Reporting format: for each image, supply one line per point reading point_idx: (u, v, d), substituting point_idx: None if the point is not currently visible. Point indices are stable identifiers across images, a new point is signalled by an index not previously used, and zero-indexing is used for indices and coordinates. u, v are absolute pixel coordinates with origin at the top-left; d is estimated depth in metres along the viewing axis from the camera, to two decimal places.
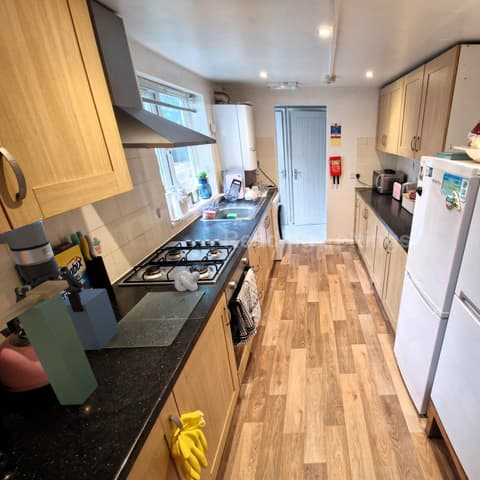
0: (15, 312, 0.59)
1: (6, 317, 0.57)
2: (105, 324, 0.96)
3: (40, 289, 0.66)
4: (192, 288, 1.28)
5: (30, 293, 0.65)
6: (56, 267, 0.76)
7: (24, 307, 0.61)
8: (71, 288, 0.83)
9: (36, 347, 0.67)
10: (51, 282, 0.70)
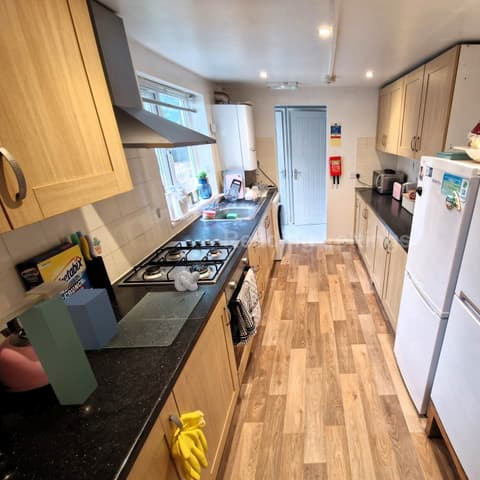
0: (15, 312, 0.59)
1: (6, 317, 0.57)
2: (105, 324, 0.96)
3: (40, 289, 0.66)
4: (192, 288, 1.28)
5: (30, 293, 0.65)
6: None
7: (24, 307, 0.61)
8: None
9: (36, 347, 0.67)
10: (51, 282, 0.70)
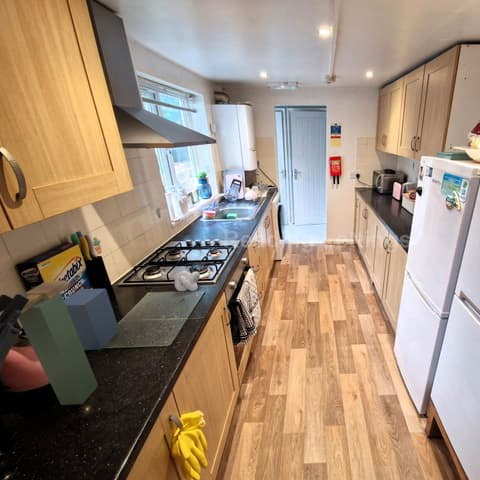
0: None
1: None
2: (105, 324, 0.96)
3: (40, 289, 0.66)
4: (192, 288, 1.28)
5: (30, 293, 0.65)
6: None
7: (24, 307, 0.61)
8: None
9: (36, 347, 0.67)
10: (51, 282, 0.70)
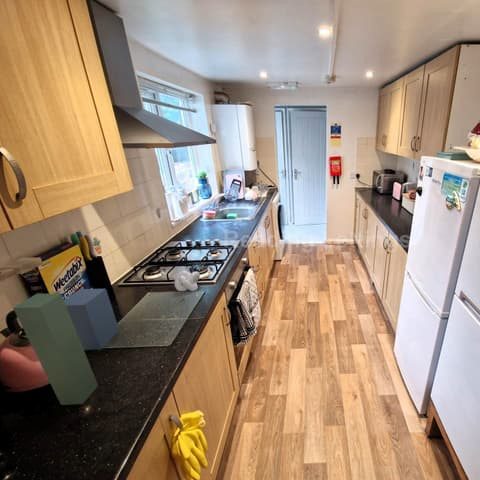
0: None
1: None
2: (105, 324, 0.96)
3: (13, 264, 0.70)
4: (192, 288, 1.28)
5: (3, 267, 0.69)
6: None
7: None
8: None
9: (36, 347, 0.67)
10: (25, 259, 0.73)
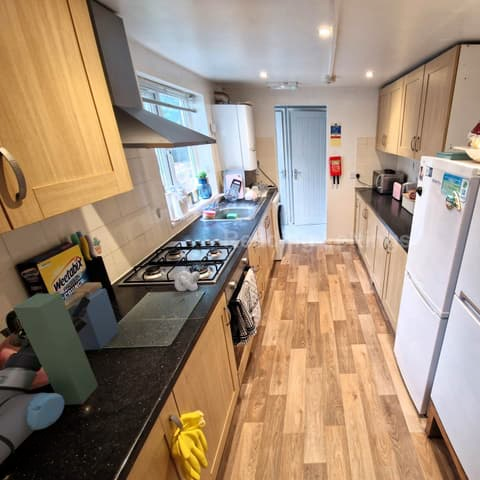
0: (69, 304, 0.85)
1: None
2: (105, 324, 0.96)
3: (83, 288, 0.92)
4: (192, 288, 1.28)
5: (77, 291, 0.91)
6: (11, 356, 0.70)
7: (74, 301, 0.87)
8: None
9: (36, 347, 0.67)
10: (90, 283, 0.95)
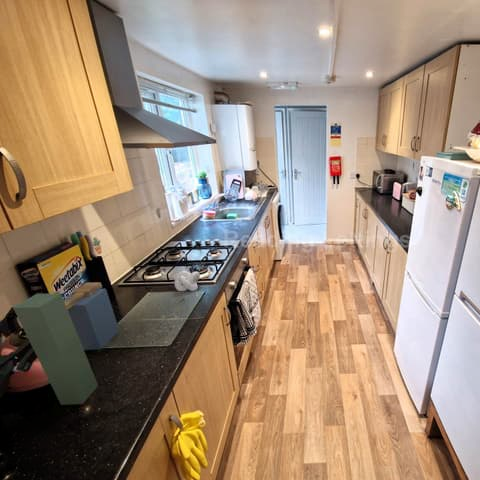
0: (69, 304, 0.85)
1: None
2: (105, 324, 0.96)
3: (83, 288, 0.92)
4: (192, 288, 1.28)
5: (77, 291, 0.91)
6: None
7: (74, 301, 0.87)
8: None
9: (36, 347, 0.67)
10: (90, 283, 0.95)
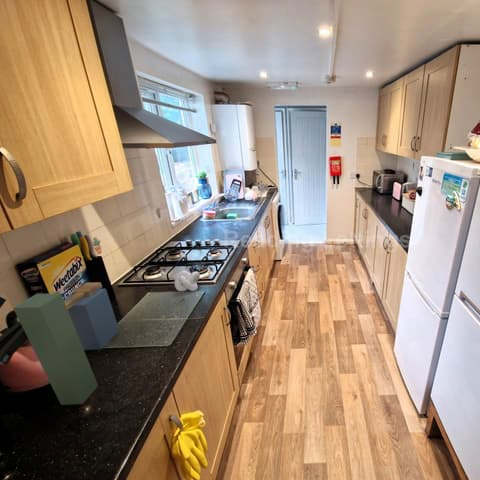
0: (69, 304, 0.85)
1: None
2: (105, 324, 0.96)
3: (83, 288, 0.92)
4: (192, 288, 1.28)
5: (77, 291, 0.91)
6: None
7: (74, 301, 0.87)
8: None
9: (36, 347, 0.67)
10: (90, 283, 0.95)
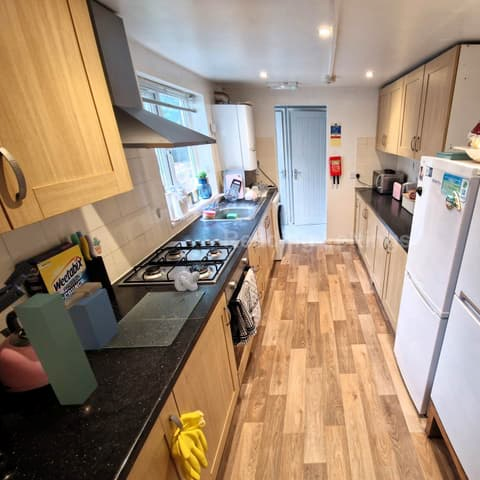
0: (69, 304, 0.85)
1: None
2: (105, 324, 0.96)
3: (83, 288, 0.92)
4: (192, 288, 1.28)
5: (77, 291, 0.91)
6: None
7: (74, 301, 0.87)
8: None
9: (36, 347, 0.67)
10: (90, 283, 0.95)
